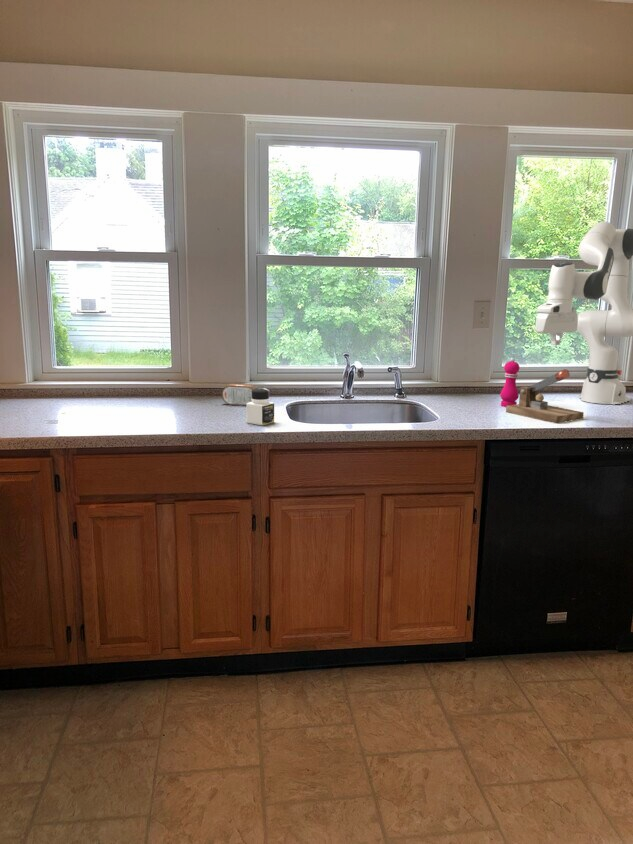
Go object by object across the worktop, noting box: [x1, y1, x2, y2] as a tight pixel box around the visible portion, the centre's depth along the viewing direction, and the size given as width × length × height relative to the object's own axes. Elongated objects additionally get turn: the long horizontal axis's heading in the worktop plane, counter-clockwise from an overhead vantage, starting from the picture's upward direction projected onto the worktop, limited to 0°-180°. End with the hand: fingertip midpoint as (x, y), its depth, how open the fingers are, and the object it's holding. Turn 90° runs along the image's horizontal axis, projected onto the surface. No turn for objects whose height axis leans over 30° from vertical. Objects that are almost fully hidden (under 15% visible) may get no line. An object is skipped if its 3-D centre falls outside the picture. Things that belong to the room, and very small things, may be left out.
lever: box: [528, 368, 571, 394], centre depth 241 cm, size 21×3×3 cm, turn 33°
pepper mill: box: [499, 357, 520, 408], centre depth 258 cm, size 7×7×20 cm
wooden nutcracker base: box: [505, 385, 584, 424], centre depth 242 cm, size 16×23×10 cm
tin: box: [221, 383, 257, 407], centre depth 252 cm, size 15×3×8 cm, turn 80°
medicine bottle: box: [245, 387, 275, 426], centre depth 221 cm, size 7×7×12 cm
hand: (555, 345), depth 235 cm, fingers closed
